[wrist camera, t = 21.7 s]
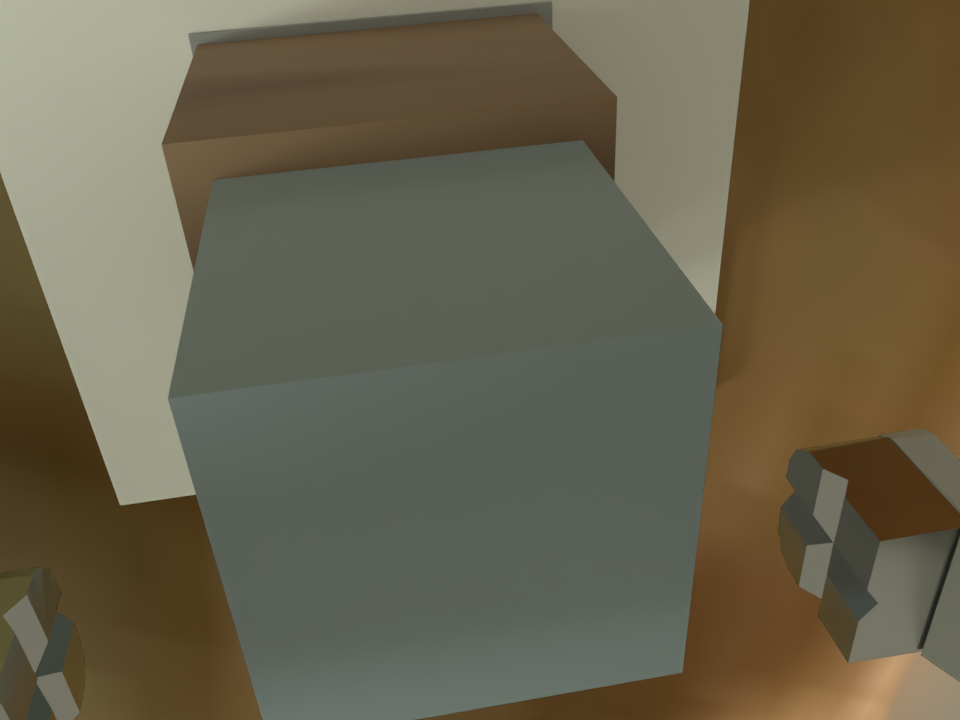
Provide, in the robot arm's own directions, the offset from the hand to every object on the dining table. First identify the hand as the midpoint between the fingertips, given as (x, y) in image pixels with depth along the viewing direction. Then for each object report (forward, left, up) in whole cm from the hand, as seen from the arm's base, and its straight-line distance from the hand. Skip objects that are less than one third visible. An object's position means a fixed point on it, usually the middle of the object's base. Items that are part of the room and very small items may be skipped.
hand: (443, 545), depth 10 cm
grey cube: (0, 0, -4) cm, 4 cm away
